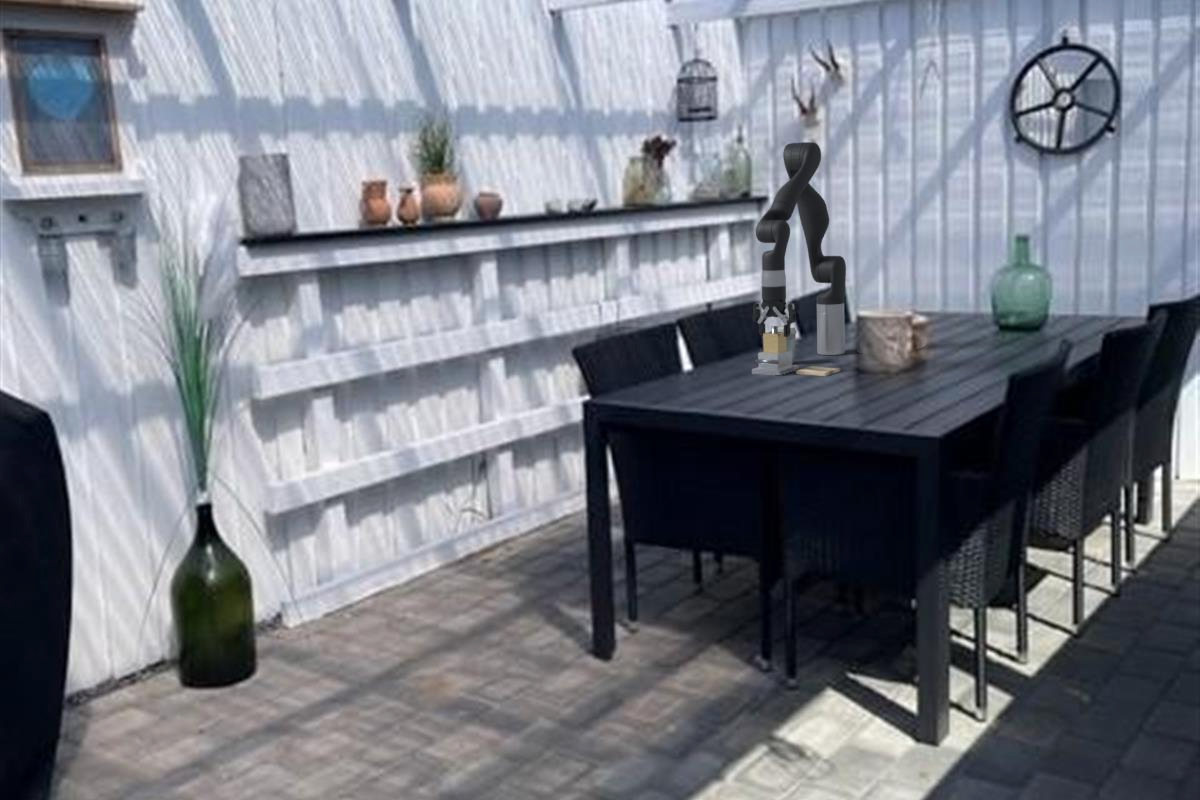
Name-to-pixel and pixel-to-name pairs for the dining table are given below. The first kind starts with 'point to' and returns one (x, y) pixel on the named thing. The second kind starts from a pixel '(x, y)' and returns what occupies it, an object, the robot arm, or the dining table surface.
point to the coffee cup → (789, 339)
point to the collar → (774, 342)
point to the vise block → (774, 361)
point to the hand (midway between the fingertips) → (774, 336)
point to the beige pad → (818, 371)
